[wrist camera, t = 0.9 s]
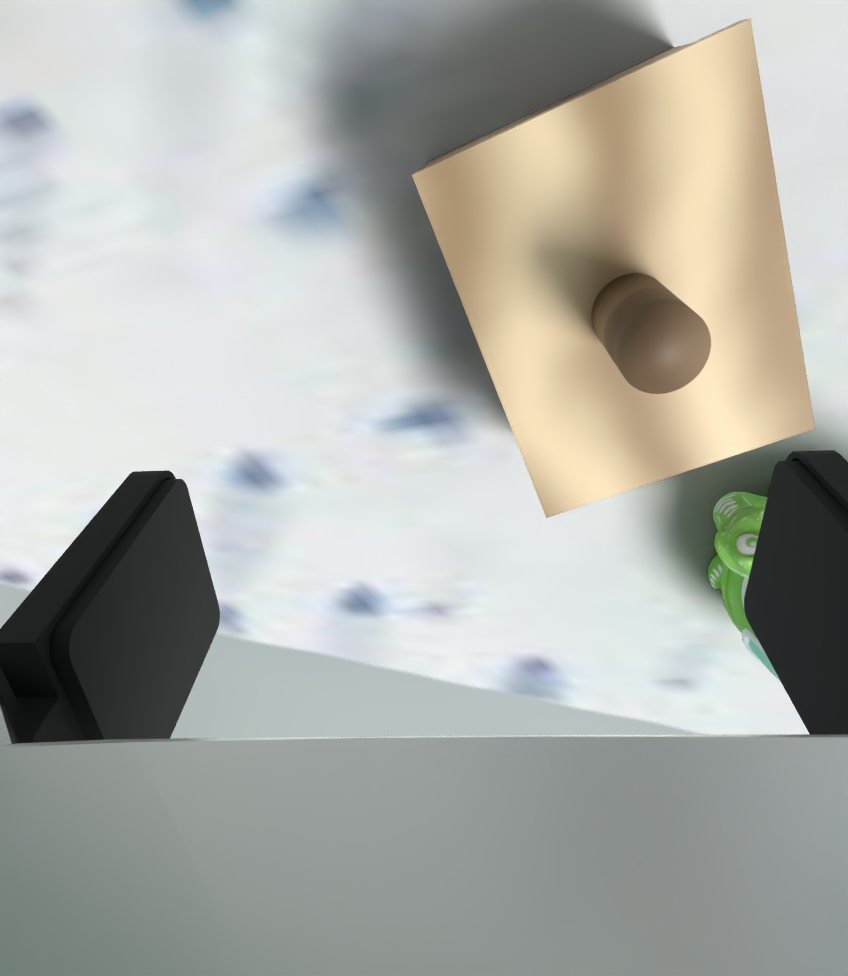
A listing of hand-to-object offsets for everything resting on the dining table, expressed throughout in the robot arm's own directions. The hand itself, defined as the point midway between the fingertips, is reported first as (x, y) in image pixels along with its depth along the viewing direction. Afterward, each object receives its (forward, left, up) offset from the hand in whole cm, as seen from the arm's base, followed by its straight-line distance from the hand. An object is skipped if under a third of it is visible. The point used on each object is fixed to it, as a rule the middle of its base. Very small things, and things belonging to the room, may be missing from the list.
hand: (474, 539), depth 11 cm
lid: (-6, +4, -20) cm, 22 cm away
